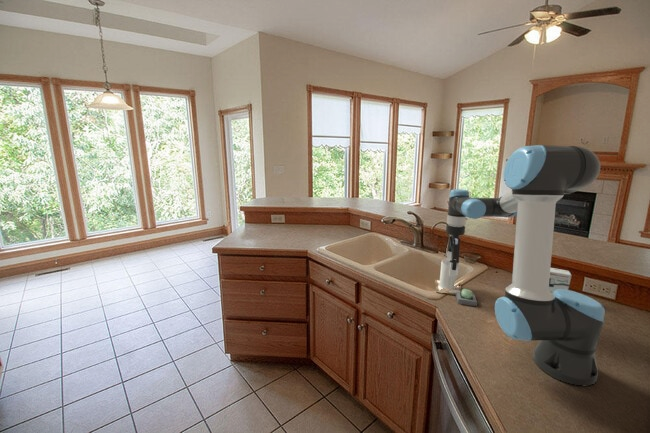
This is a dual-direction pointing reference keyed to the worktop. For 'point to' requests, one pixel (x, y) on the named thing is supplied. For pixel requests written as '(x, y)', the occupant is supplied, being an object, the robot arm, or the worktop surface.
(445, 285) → the mug
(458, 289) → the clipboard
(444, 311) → the worktop surface
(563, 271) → the ink box
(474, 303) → the button base
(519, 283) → the robot arm
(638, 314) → the worktop surface
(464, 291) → the button
